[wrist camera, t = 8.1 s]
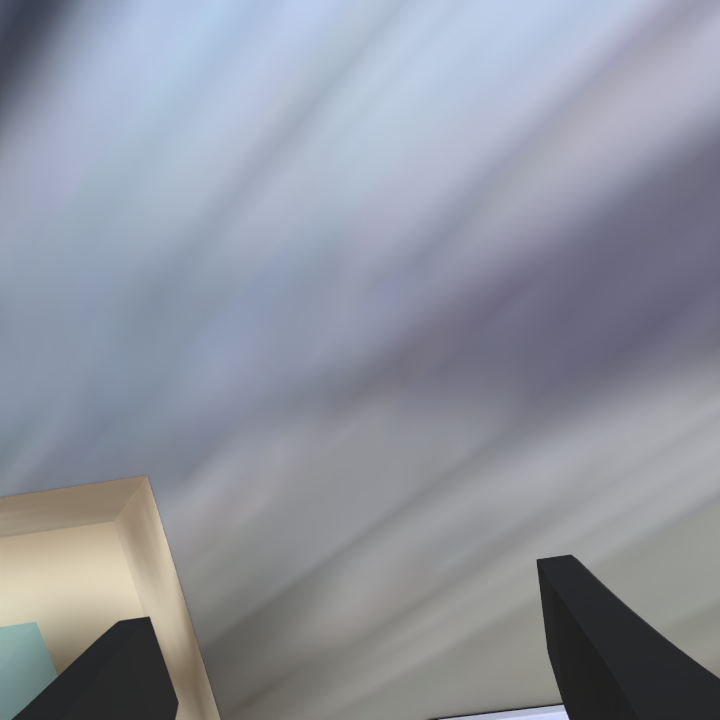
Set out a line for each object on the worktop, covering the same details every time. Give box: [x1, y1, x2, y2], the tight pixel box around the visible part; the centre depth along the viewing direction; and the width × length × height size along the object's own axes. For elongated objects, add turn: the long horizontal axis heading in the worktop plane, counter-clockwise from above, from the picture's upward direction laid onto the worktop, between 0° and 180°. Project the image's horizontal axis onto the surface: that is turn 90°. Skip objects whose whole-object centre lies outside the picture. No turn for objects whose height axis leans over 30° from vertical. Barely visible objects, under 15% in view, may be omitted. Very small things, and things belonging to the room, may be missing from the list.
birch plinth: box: [0, 475, 221, 720], centre depth 23 cm, size 12×12×3 cm
